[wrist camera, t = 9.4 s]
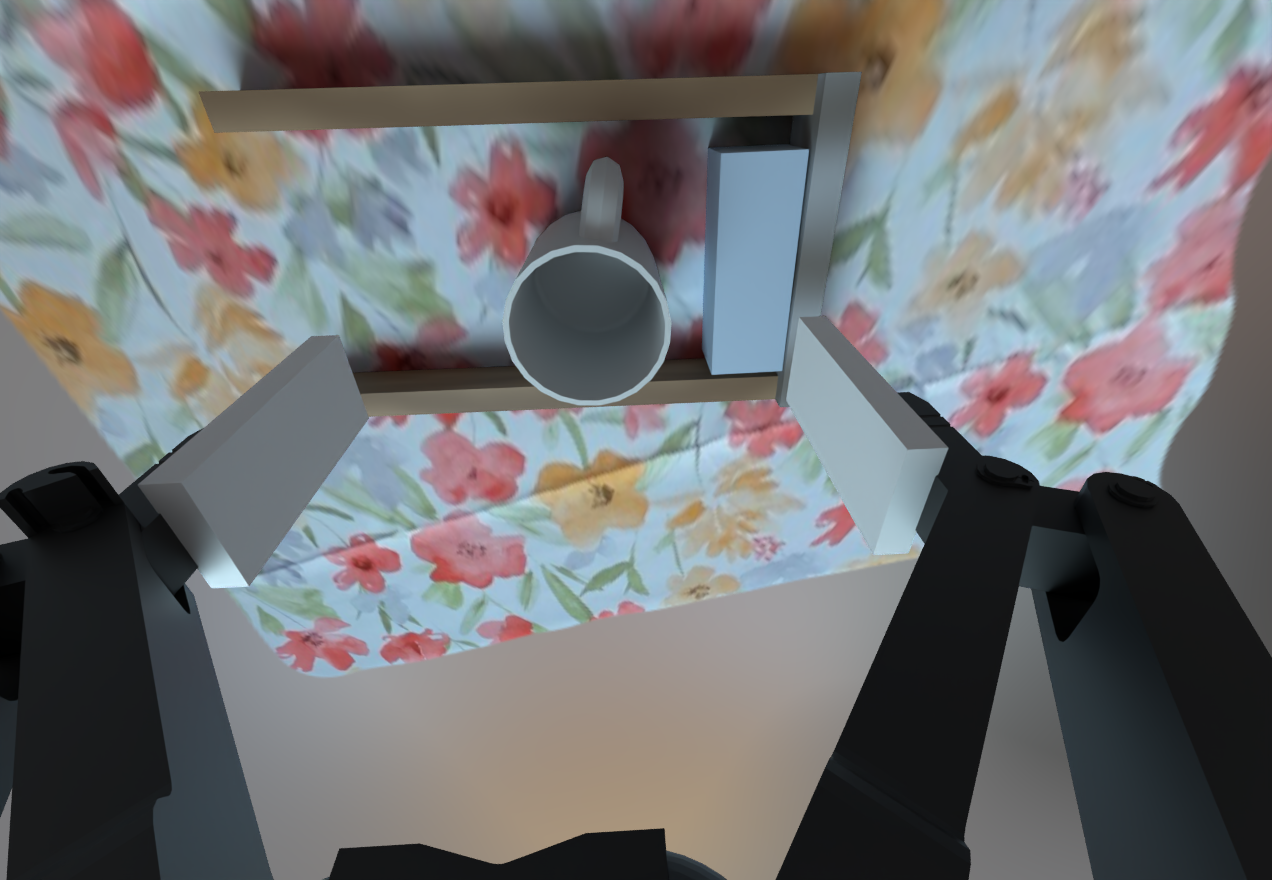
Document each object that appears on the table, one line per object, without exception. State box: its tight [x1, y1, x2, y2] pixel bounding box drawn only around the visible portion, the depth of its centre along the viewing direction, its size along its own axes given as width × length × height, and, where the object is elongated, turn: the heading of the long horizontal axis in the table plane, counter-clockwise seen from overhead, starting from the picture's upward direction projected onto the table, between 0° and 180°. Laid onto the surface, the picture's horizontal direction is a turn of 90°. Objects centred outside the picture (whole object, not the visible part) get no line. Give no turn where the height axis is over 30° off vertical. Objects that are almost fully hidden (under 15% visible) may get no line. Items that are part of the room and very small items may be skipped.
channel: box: [199, 72, 862, 417], centre depth 28 cm, size 16×28×4 cm, turn 91°
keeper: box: [702, 144, 809, 375], centre depth 28 cm, size 11×4×4 cm
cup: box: [502, 157, 671, 405], centre depth 26 cm, size 7×10×9 cm
